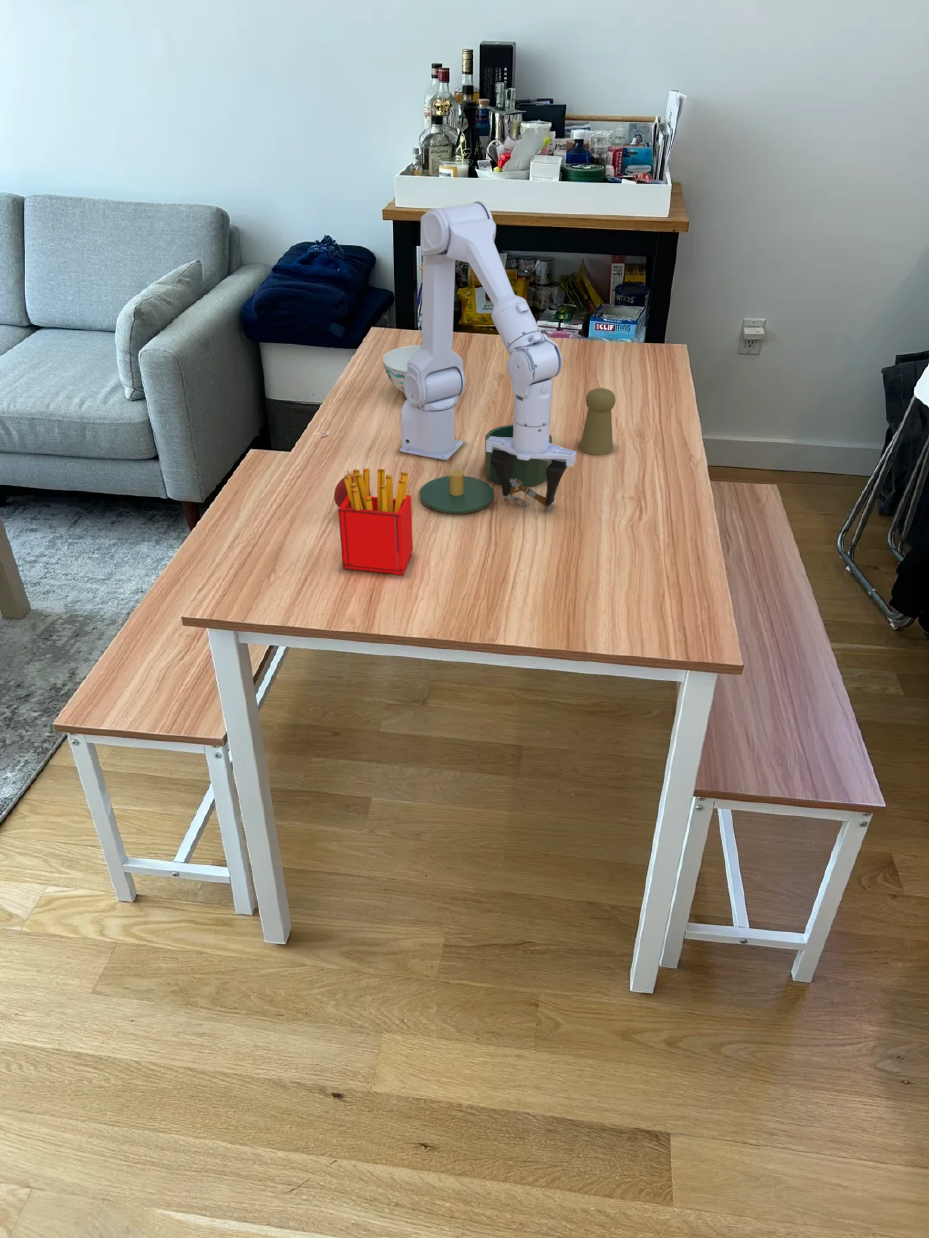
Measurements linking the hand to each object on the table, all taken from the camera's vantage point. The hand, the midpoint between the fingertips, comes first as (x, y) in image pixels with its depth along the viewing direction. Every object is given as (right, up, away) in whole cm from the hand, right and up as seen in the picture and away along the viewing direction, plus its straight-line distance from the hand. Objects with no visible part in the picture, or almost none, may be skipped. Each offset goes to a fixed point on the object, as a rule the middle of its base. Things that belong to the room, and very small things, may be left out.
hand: (528, 497), depth 157 cm
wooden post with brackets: (0, -2, +1) cm, 2 cm away
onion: (-28, -3, -2) cm, 29 cm away
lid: (-12, +1, +3) cm, 12 cm away
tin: (-1, +6, +11) cm, 13 cm away
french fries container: (-23, -11, -13) cm, 29 cm away
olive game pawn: (+14, +11, +19) cm, 26 cm away
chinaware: (-19, +27, +38) cm, 51 cm away
